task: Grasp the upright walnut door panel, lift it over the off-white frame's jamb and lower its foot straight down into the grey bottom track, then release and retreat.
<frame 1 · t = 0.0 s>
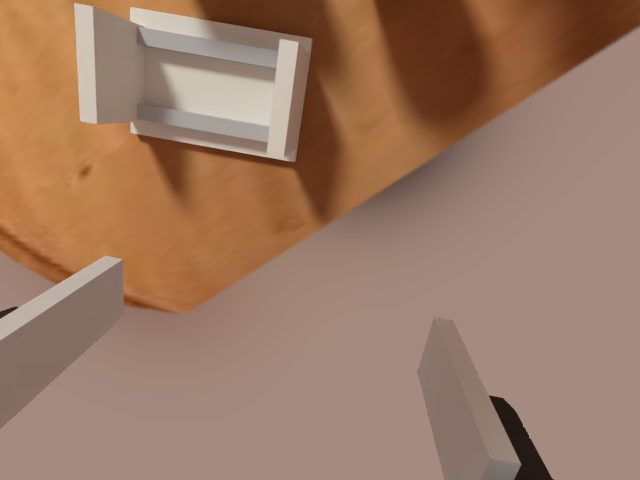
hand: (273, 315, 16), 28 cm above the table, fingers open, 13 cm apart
track frame: (219, 88, 40), on the table
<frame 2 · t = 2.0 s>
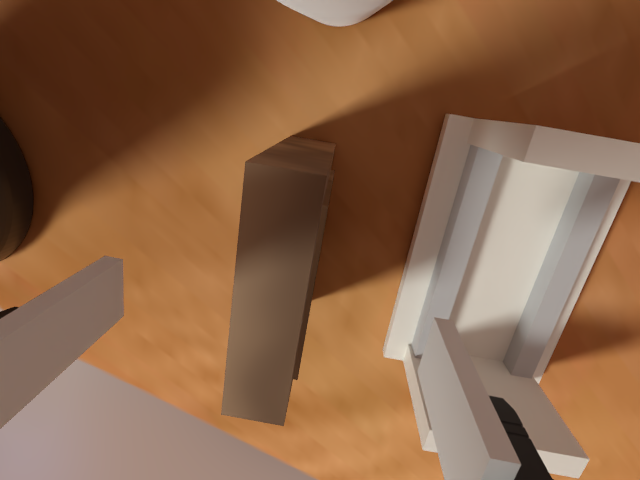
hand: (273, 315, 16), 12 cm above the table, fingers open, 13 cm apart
track frame: (493, 259, 27), on the table
door panel: (300, 224, 27), on the table
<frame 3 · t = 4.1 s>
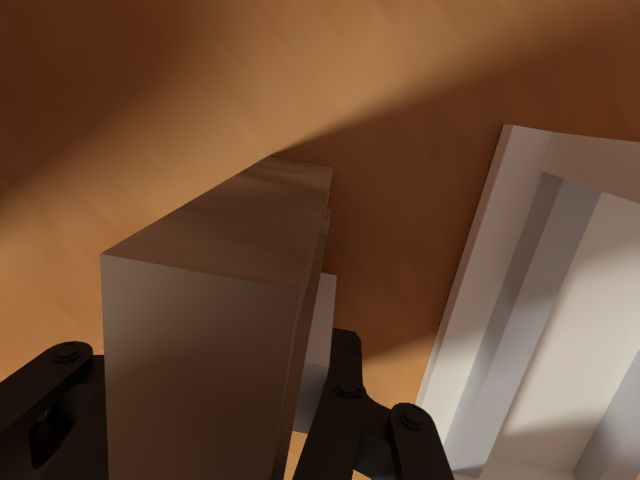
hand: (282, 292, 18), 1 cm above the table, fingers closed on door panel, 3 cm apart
track frame: (564, 333, 19), on the table
door panel: (283, 281, 19), on the table, touching gripper
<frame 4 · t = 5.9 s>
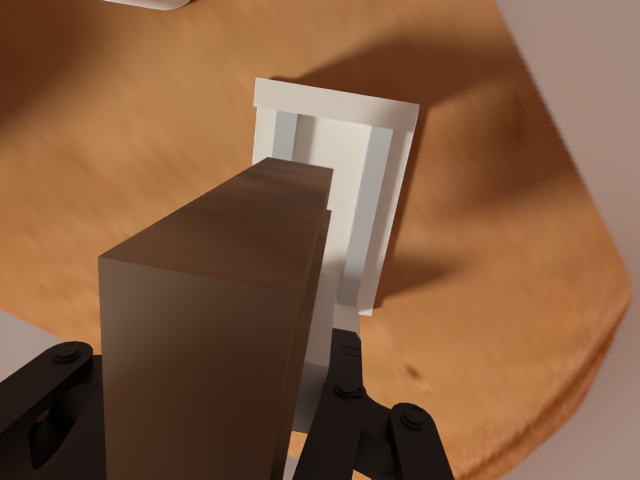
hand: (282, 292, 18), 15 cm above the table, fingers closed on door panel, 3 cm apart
track frame: (321, 207, 32), on the table
door panel: (283, 282, 19), point 14 cm above the table, touching gripper
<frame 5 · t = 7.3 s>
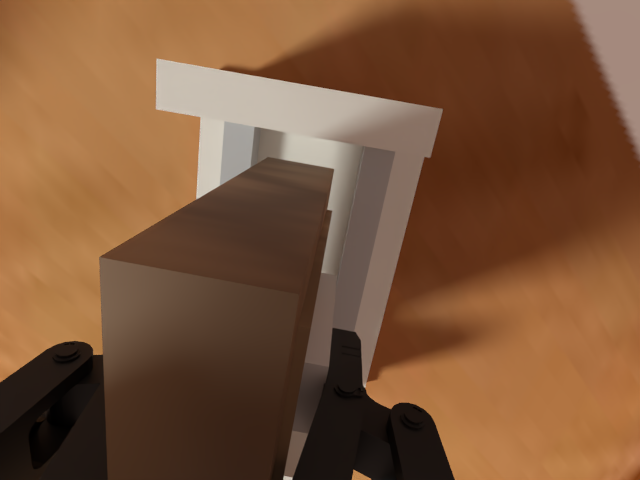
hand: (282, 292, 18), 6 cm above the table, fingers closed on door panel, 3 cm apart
track frame: (296, 248, 23), on the table
door panel: (283, 282, 19), point 5 cm above the table, touching gripper
when the fingers open (4 cm above the table, at t = 8.1 s): door panel drops 2 cm, resting on track frame.
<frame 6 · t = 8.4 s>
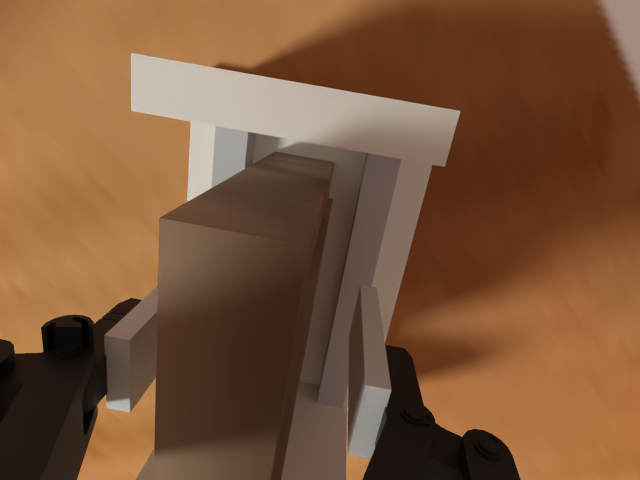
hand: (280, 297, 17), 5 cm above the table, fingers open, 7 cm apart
track frame: (294, 259, 22), on the table
door panel: (288, 266, 21), point 1 cm above the table, touching track frame
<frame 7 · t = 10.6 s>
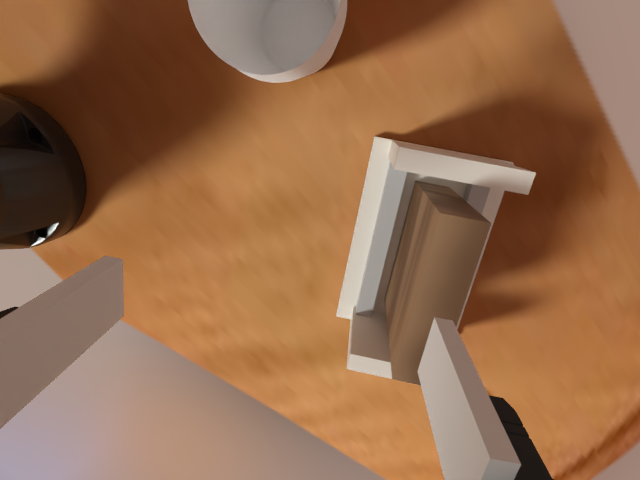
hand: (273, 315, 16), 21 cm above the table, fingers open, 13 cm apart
cup: (299, 34, 32), on the table
track frame: (415, 243, 36), on the table
door panel: (414, 246, 35), point 1 cm above the table, touching track frame
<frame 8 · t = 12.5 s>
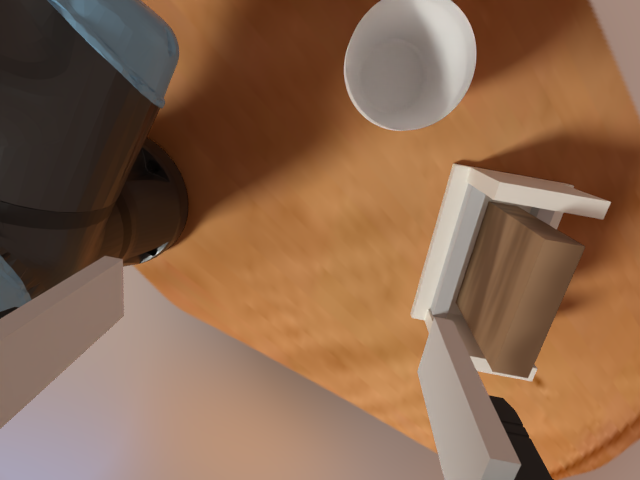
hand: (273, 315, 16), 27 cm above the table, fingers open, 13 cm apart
cup: (391, 77, 37), on the table
track frame: (483, 253, 42), on the table
door panel: (485, 256, 41), point 1 cm above the table, touching track frame
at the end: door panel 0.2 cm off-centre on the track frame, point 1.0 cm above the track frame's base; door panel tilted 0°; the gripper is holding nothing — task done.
